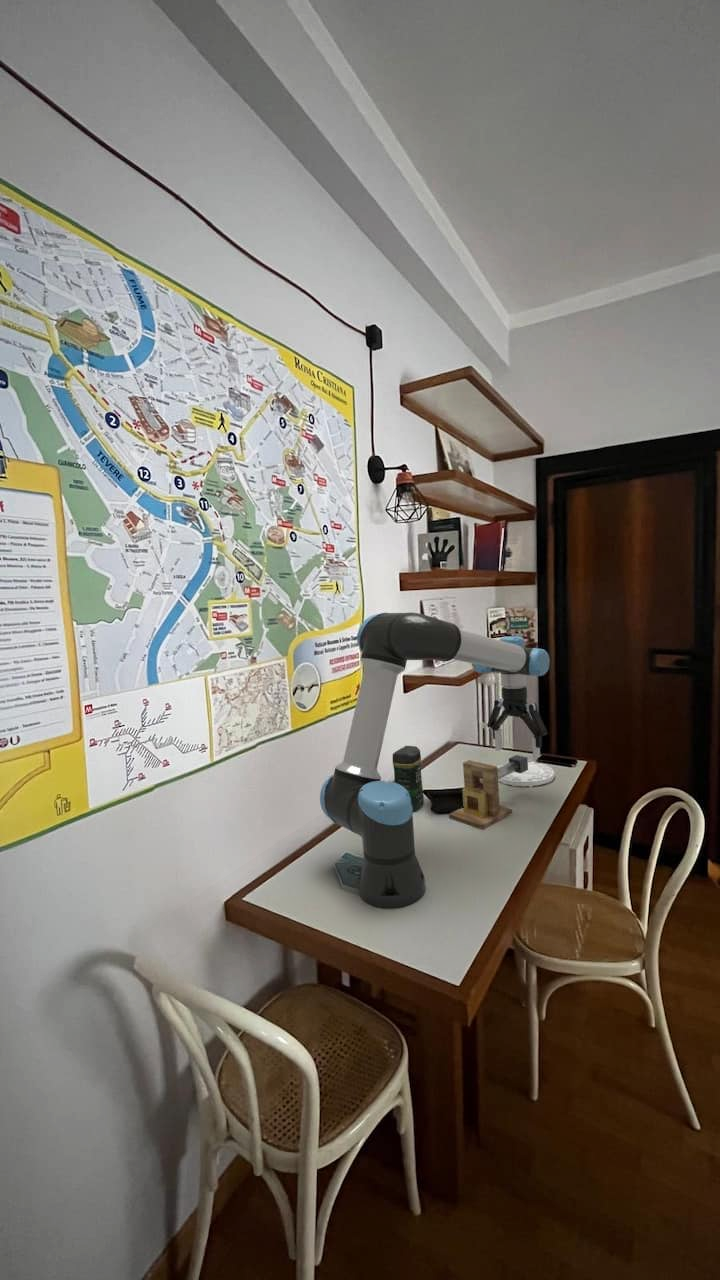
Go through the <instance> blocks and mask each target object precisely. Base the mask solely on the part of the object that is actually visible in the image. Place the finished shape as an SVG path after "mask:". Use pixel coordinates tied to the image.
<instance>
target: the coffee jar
mask: <svg viewBox="0 0 720 1280" xmlns="http://www.w3.org/2000/svg"><path fill="white" fill-rule="evenodd" d="M421 756H422V755H421V750H420V749H419V748H418V747H417V746H415V745H404V746H402V747H401V748H399V749H398V750H396V751H395V752H393V754H392V766H393V767H392V768H393V775H394V777H393V778H394V783H397V784H399V785H401V786H403V787H404V788H405V789H406V790H407V791H408V793H409V795H410V799H411V805H412V808H413V810H412V812H414V811H417V810H418V809H420V808H421V807H422V806H423V804H424V803H425V802H424V801H425V798H424V790H423V788H424V787H423V780H422V778H423V777H422V757H421Z"/></svg>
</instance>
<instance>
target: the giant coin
mask: <svg viewBox="0 0 720 1280" xmlns="http://www.w3.org/2000/svg"><path fill="white" fill-rule="evenodd" d="M503 765H504V764H502V765H499V766H497V768H499V767H501V766H503ZM555 777H556V776H555V771H554V770H553V768H552V767H550V766H548V765H547V764H545V763H536V762H535V761H530V762H528V770H527V771H525V772H523V773H517V772H513V773H511V774H508V775H506V776H504V777H502V778H500V779H498V783H499V782H500V784H503V785H509V786H511V785H512V786H511V787H516V786H517V787H516V788H519V787H520V786H521V787H525V786H532V787H533V786H540V785H546V784H549V783H550V782H553V780H554V778H555Z"/></svg>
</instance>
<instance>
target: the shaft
mask: <svg viewBox="0 0 720 1280" xmlns="http://www.w3.org/2000/svg"><path fill="white" fill-rule="evenodd" d="M528 760H529V759H528V757H526V756H521V755H517V754H516V755H513V756H511V757H509V758H508V762H507V763H505V764H502V765H503V766H501V765H500V766H501V767H499V766H498V767H499V768H497V771H498V779H500V778H502V777H504V776H506V775H508V774H511V773H513V772H517V773H523V772H525V771H527V770H528V763H529V761H528ZM477 783H478V785H479V786H481V787H482V786H483V777H479V776H478V777H477Z"/></svg>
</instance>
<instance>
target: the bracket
mask: <svg viewBox="0 0 720 1280" xmlns="http://www.w3.org/2000/svg"><path fill="white" fill-rule="evenodd" d="M497 767H498V765H491V764H487V763H482V762H480V761H475V760H470V759H469V760H466V761H464V762H462V769H463V783H464V788H466V787H471V788H475V789H478V790H482V791H485V792H487V796H488V812H489V816H487V817H486V818H484V819H483V818H480V817H477V816H474V815H471V814H468V813H465V812H464V808H462V807H461V809H460V808H459V809H456V810H453V811H452V812H450V813H448V817H449V819H451V820H454V821H458V822H459V823H463V824H464V825H465V824H466V825H469V826H471V827H474V828H477V829H480V830H484V829H487V828H489V827H490V826H493V825H494V824H496V823H497V822H499V821H501V820H503V819H505V818H506V817H508V816H510V815H512V814H513V808H509V807H506V806H503V805H501V804H500V792H499V791H500V789H499V788H500V787H499V781H498V771H497ZM478 776H479V777H483V786H482V787H481V786H479V785H478V783H477V777H478ZM472 798H473V806H475V807H478V798H474V797H472Z"/></svg>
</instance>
